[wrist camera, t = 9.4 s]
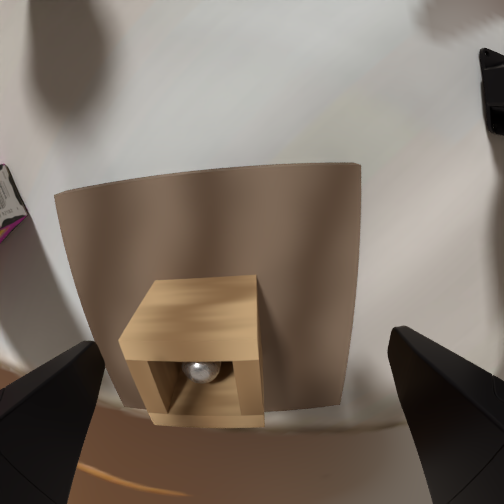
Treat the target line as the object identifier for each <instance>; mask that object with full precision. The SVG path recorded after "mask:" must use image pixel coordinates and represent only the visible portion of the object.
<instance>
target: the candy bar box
mask: <svg viewBox="0 0 504 504" xmlns="http://www.w3.org/2000/svg"><path fill="white" fill-rule="evenodd" d="M26 216H27V211H26V209H25V207H24V205H23V203H22V200H21V198H20V197H19V194H18V192H17V190H16V188H15V185H14V183H13V180H12V178H11V175H10V173H9V171H8V169H7V166H6V165H5V164H1V165H0V243H1V242H2V241H3V240H4V239H5V238H6V237H7V236H8V235H9V233H10V232H11V231H12V230H13V229H14V228H15V227H16V226H17V225H18V224H19V223H20V222H21V221H22V220H23V219H24V218H25V217H26Z"/></svg>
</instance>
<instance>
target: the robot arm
mask: <svg viewBox="0 0 504 504" xmlns="http://www.w3.org/2000/svg"><path fill="white" fill-rule="evenodd" d="M480 58H481V64H482V71H483V79H484V87H485V97H486V110H487V126H488V130H489V131H490V132H491V133H493V134H498V135H502V136H504V55H501V54H499V53H497V52H495V51H492V50H490V49H487V48H482V49H480ZM493 125H494V128H493ZM388 359H389V362H390V366H391V370H392V374H393V378H394V382H395V386H396V390H397V393H398V397H399V400H400V403H401V406H402V409H403V411H404V414H405V417H406V420H407V422H408V425H409V428H410V431H411V434H412V437H413V440H414V443H415V446H416V448H417V452H418V455H419V458H420V461H421V464H422V468H423V471H424V474H425V477H426V480H427V484H428V488H429V491H430V495H431V498H432V502H433V504H504V381H503V380H501V379H500V378H498V377H496V376H494V375H493V376H492V374H491V373H489V372H487V371H485V370H484V369H482V368H480V367H478V366H477V365H475V364H473V363H471V362H470V361H468V360H466V359H464V358H463V357H461V356H459V355H457V354H455V353H454V352H452V351H450V350H448V349H447V348H445V347H443V346H441V345H439V344H438V343H436V342H434V341H432V340H431V339H429V338H427V337H425V336H423V335H422V334H420V333H418V332H416V331H414V330H413V329H411V328H409V327H407V326H399V327H394V328H393V329H392V331H391V335H390V340H389V345H388ZM104 370H105V361H104V358H103V356H102V354H101V352H100V349H99V347H98V345H97V343H96V342H94V341H83V342H81V343H79V344H78V345H76V346H74V347H72V348H71V349H69V350H67V351H66V352H64V353H62V354H60V355H59V356H57V357H55V358H54V359H52V360H50V361H48V362H47V363H45V364H43V365H42V366H40V367H38V368H36V369H35V370H33V371H31V372H30V373H28V374H26V375H25V376H23V377H21V378H19V379H18V380H16V381H14V382H13V383H11V384H9V385H8V386H6V388H2V389H1V390H0V504H67V501H68V497H69V493H70V489H71V485H72V482H73V478H74V474H75V471H76V467H77V464H78V460H79V457H80V453H81V450H82V447H83V443H84V440H85V437H86V434H87V431H88V428H89V424H90V422H91V419H92V416H93V413H94V409H95V406H96V403H97V399H98V394H99V390H100V386H101V382H102V378H103V374H104Z"/></svg>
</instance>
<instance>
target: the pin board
mask: <svg viewBox="0 0 504 504" xmlns="http://www.w3.org/2000/svg"><path fill="white" fill-rule="evenodd" d="M54 198H55V204H56V209H57V214H58V219H59V224H60V229H61V233H62V237H63V242H64V246H65V250H66V254H67V258H68V261H69V265H70V269H71V272H72V276H73V279H74V282H75V286H76V289H77V292H78V295H79V298H80V301H81V304H82V307H83V310H84V313H85V316H86V319H87V322H88V324H89V327H90V330H91V332H92V335H93V338H94V340H95V342H96V343H97V345H98V347H99V349H100V352H101V354H102V356H103V358H104V361H105V367H106V369H107V371H108V374H109V376H110V378H111V380H112V382H113V384H114V387H115V389H116V391H117V393H118V395H119V397H120V399H121V401H122V403H123V405H124V407H130V408H138V409H146V407H145V405H144V402H143V400H142V398H141V396H140V393H139V391H138V389H137V387H136V384H135V382H134V380H133V377H132V375H131V372H130V370H129V367H128V365H127V362H126V360H125V357H124V355H123V352H122V350H121V347H120V344H119V341H118V340H119V338H120V336H121V335H122V333H123V331H124V330H125V328H126V326H127V325H128V323H129V321H130V320H131V318H132V317H133V315H134V313H135V312H136V310H137V308H138V307H139V305H140V304H141V302H142V300H143V299H144V297H145V296H146V294H147V292H148V291H149V289H150V288H151V286H152V285H153V283H154V281H155V280H173V279H192V278H210V277H227V276H243V275H256V278H257V291H258V304H259V317H260V330H261V344H262V358H263V389H264V412H271V411H286V410H298V409H308V408H317V407H325V406H333V405H340V402H341V396H342V391H343V385H344V380H345V374H346V367H347V361H348V354H349V347H350V340H351V333H352V324H353V316H354V307H355V297H356V286H357V274H358V260H359V243H360V218H361V165H359V164H356V163H299V164H276V165H259V166H244V167H231V168H219V169H208V170H198V171H189V172H180V173H172V174H164V175H156V176H149V177H142V178H135V179H129V180H122V181H116V182H110V183H104V184H98V185H93V186H87V187H82V188H77V189H72V190H67V191H64V192H61V193H59V194H56V195H54ZM220 366H221V361H207V362H182V370H183V372H184V374H185V375H186V377H187V378H188V379H189V380H191V381H193V382H195V383H200V384H203V383H208V382H210V381H212V380H213V379H215V378H216V376H217V375H218V373H219V371H220Z"/></svg>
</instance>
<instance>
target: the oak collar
mask: <svg viewBox="0 0 504 504" xmlns="http://www.w3.org/2000/svg"><path fill="white" fill-rule="evenodd" d="M118 341H119V344H120V347H121V350H122V352H123V355H124V357H125V360H126V362H127V365H128V367H129V370H130V372H131V375H132V377H133V380H134V382H135V384H136V387H137V389H138V391H139V393H140V396H141V398H142V400H143V402H144V405H145V407H146V409H147V411H148V413H149V415H150V417H151V419H152V421H153V423H154V425H163V426H177V427H197V428H254V427H265V423H264V389H263V358H262V344H261V330H260V317H259V304H258V291H257V278H256V275H243V276H227V277H210V278H192V279H173V280H155V281H154V283H153V285H152V286H151V288H150V289H149V291H148V292H147V294H146V296H145V297H144V299H143V300H142V302H141V304H140V305H139V307H138V308H137V310H136V312H135V313H134V315H133V317H132V318H131V320H130V321H129V323H128V325H127V326H126V328H125V330H124V331H123V333H122V335H121V336H120V338H119V340H118ZM207 361H221V366H220V371H219V373H218V375H217V376H216V378H215V379H213V380H212V381H210V382H208V383H203V384H200V383H195V382H193V381H191V380H189V379H188V378H187V377H186V375H185V374H184V372H183V370H182V362H207Z"/></svg>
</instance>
